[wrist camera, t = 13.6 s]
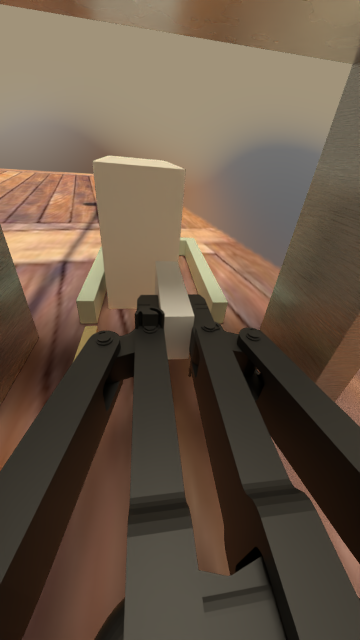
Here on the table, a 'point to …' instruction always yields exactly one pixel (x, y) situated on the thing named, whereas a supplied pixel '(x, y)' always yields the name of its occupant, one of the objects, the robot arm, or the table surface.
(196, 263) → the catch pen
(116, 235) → the plug block
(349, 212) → the gray arch frame
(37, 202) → the table surface
